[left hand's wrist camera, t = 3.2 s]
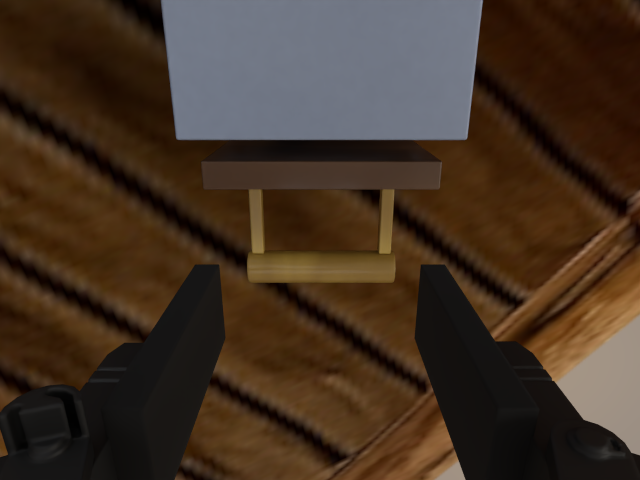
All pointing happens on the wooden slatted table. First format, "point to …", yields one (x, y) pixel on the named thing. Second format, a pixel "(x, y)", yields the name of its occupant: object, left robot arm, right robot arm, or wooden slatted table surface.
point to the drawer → (321, 173)
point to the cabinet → (321, 68)
